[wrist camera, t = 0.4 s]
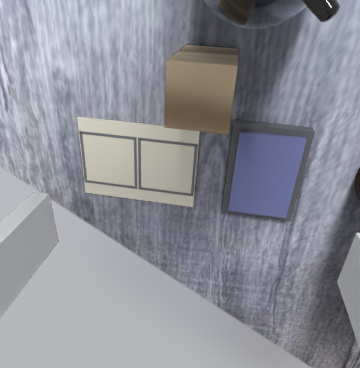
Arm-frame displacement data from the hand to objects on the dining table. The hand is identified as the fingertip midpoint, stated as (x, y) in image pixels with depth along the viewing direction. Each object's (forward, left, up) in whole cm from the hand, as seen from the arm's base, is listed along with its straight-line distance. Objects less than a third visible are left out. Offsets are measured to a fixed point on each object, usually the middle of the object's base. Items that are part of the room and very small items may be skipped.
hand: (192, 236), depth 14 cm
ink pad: (+7, +6, -23) cm, 24 cm away
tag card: (+8, -9, -23) cm, 26 cm away
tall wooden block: (-3, -1, -23) cm, 23 cm away
